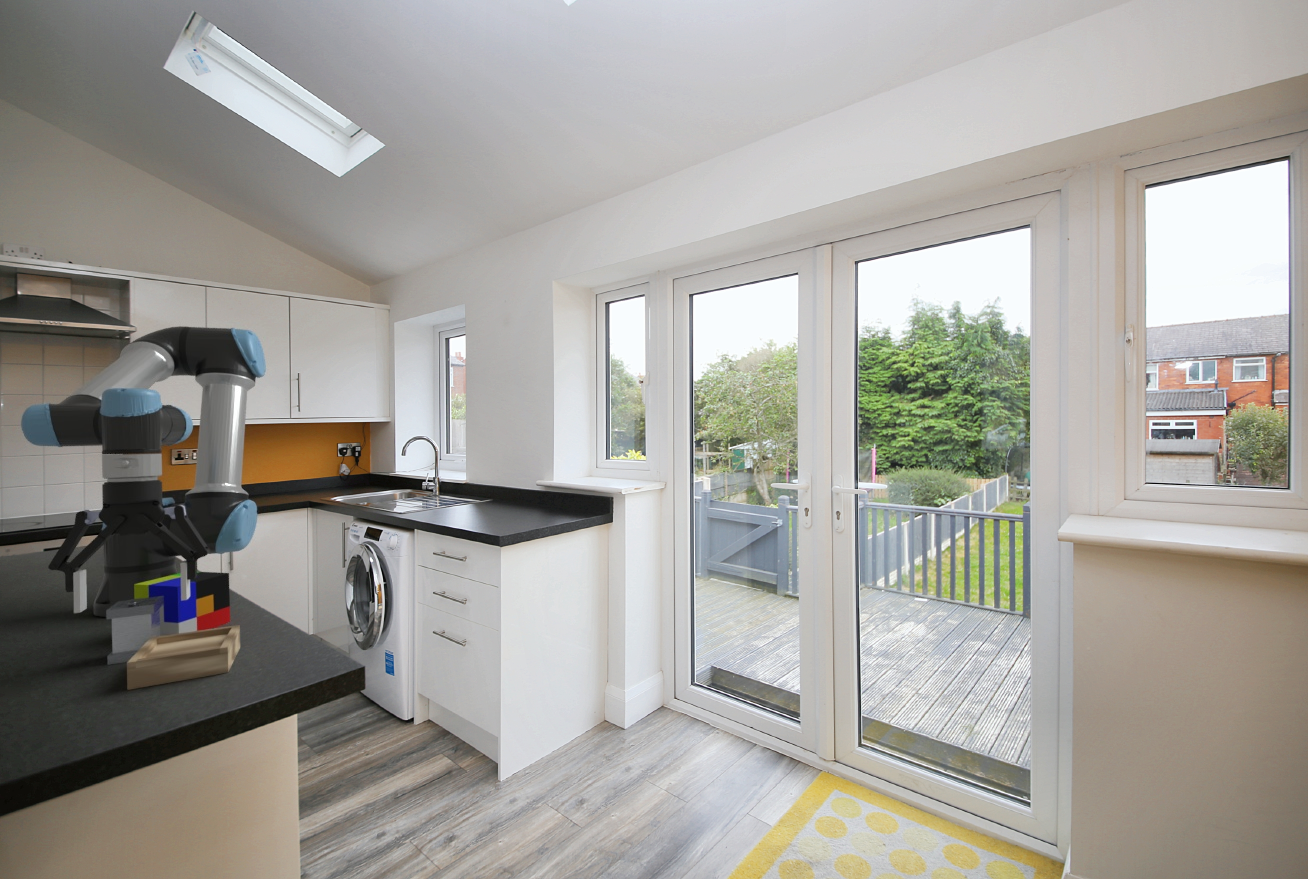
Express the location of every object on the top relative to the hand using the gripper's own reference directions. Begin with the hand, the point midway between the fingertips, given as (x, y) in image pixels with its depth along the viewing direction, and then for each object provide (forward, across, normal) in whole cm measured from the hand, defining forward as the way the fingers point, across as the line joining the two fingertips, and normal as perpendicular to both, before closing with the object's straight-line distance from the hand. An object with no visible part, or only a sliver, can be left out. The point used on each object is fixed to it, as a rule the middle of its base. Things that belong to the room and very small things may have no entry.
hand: (134, 604), depth 97 cm
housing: (+9, 0, +1) cm, 9 cm away
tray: (+9, +9, -10) cm, 16 cm away
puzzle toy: (+9, +4, +13) cm, 16 cm away
